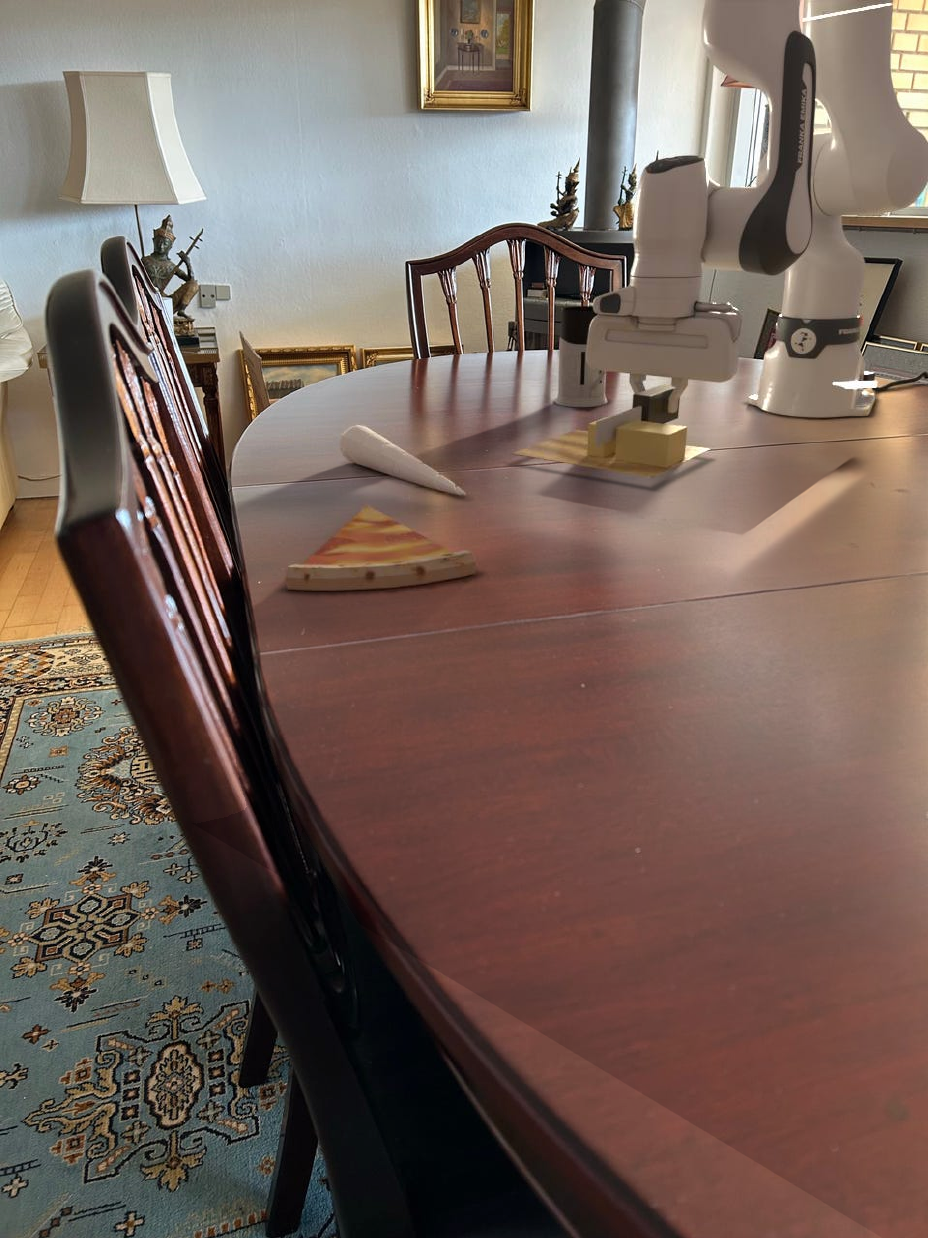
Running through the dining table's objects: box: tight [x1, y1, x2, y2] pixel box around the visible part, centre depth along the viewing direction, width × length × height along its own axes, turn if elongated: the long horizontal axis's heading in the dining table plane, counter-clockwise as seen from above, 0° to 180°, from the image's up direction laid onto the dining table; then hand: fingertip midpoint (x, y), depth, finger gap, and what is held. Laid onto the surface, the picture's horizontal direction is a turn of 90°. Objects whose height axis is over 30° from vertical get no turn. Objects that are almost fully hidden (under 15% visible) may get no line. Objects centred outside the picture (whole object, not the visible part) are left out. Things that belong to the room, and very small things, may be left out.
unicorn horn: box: [339, 424, 467, 496], centre depth 109 cm, size 5×24×5 cm, turn 35°
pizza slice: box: [285, 504, 477, 592], centre depth 86 cm, size 16×22×2 cm
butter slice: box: [587, 416, 616, 458], centre depth 113 cm, size 5×2×4 cm, turn 142°
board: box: [511, 429, 710, 479], centre depth 115 cm, size 16×20×2 cm
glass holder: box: [555, 305, 608, 408], centre depth 145 cm, size 9×14×15 cm, turn 18°
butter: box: [615, 420, 688, 468], centre depth 110 cm, size 5×7×4 cm
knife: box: [595, 383, 681, 446], centre depth 114 cm, size 20×2×4 cm, turn 142°
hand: (656, 410), depth 118 cm, fingers closed on knife, 2 cm apart
